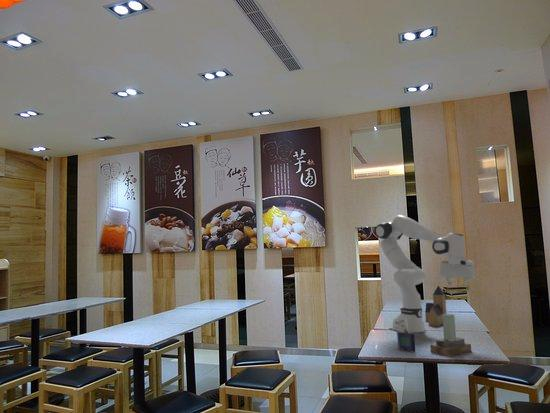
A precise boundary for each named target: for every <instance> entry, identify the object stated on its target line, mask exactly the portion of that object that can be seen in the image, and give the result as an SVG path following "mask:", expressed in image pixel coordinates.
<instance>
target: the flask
mask: <svg viewBox="0 0 550 413" xmlns="http://www.w3.org/2000/svg"><path fill="white" fill-rule="evenodd" d="M396 337H397V338H396V339H397V349H398V350H400V351H404V350H405V351H404V352H410V353H411V352H412V353H416V343H415V341H416V340H415V339H416V338H415V333H413V332H408V331H407V329H405V330H404V332H400V331H397V332H396Z"/></svg>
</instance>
